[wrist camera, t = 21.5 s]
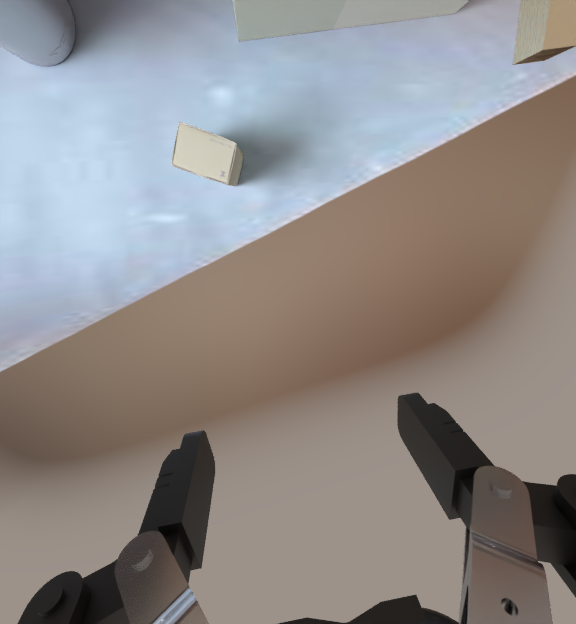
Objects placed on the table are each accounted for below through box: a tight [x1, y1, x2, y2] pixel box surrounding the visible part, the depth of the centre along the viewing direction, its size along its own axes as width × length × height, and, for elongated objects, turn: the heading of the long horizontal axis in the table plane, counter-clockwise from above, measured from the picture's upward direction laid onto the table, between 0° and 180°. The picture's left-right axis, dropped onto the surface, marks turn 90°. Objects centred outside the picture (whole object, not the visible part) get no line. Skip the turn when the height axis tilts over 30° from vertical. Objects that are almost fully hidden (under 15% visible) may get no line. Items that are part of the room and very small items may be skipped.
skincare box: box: [171, 122, 244, 186], centre depth 36 cm, size 6×4×12 cm
